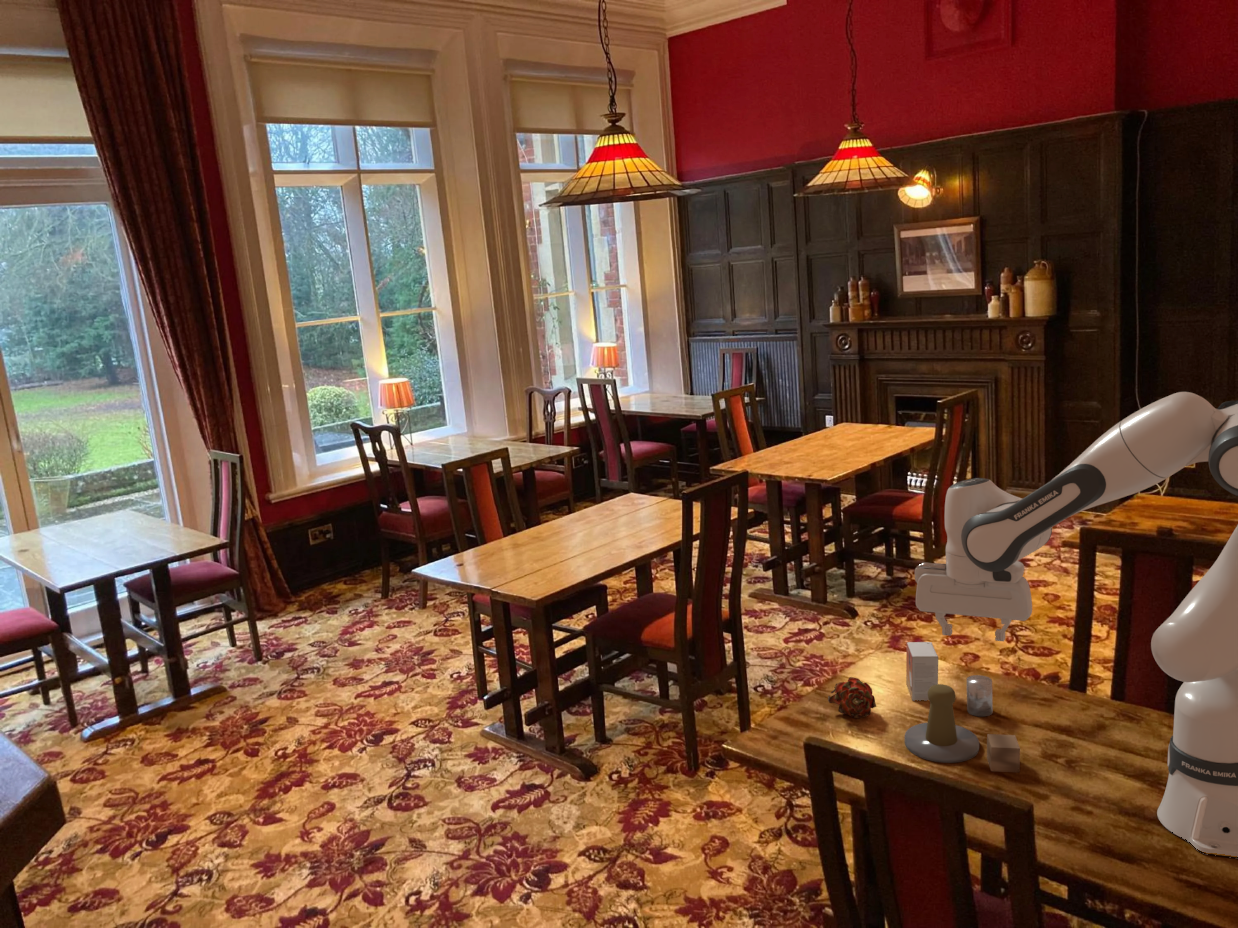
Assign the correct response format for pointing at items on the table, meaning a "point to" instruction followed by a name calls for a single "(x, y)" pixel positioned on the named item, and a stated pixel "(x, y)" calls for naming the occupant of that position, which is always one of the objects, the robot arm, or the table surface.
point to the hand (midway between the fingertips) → (973, 637)
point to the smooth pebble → (946, 754)
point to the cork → (941, 716)
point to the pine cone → (853, 698)
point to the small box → (921, 669)
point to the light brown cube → (1003, 753)
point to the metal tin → (979, 695)
